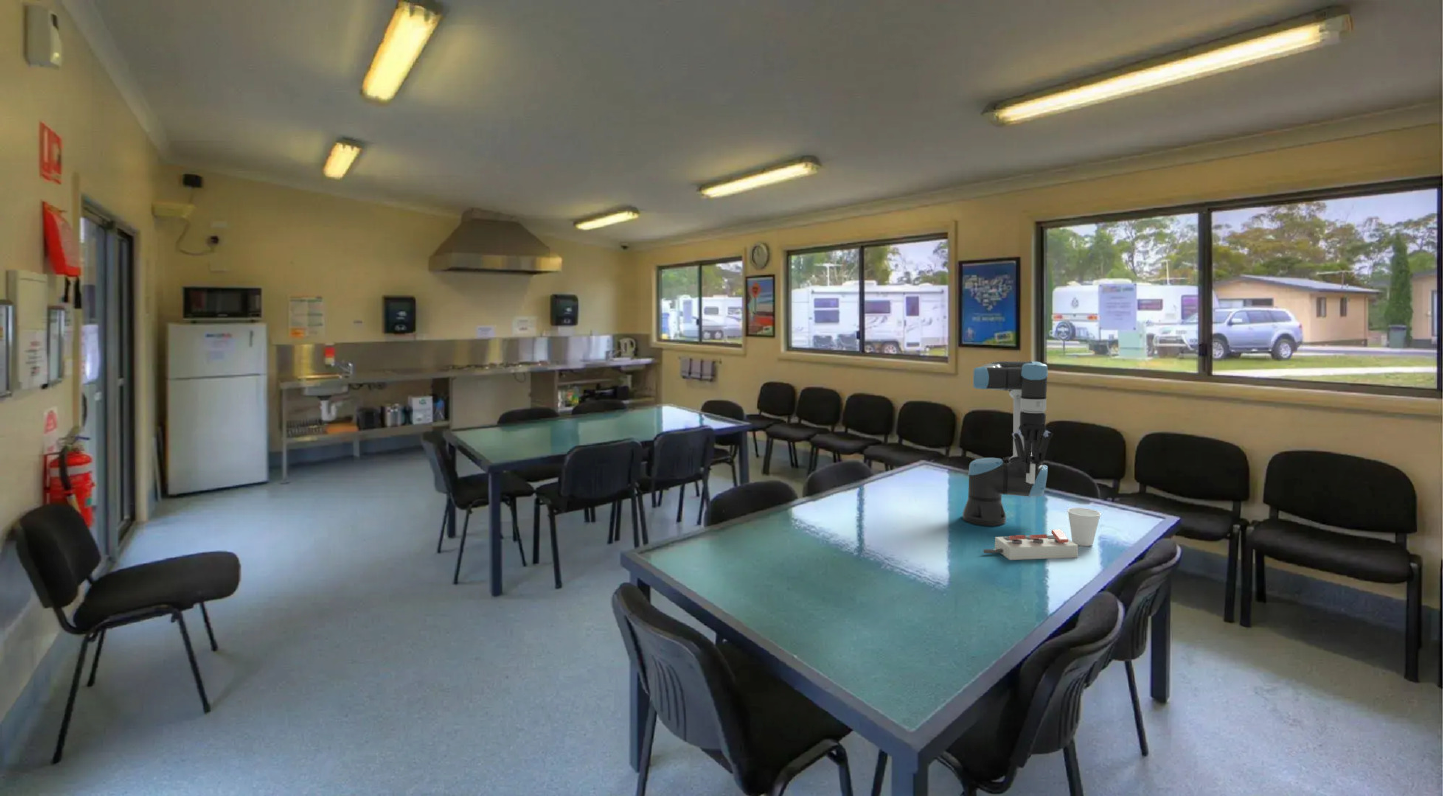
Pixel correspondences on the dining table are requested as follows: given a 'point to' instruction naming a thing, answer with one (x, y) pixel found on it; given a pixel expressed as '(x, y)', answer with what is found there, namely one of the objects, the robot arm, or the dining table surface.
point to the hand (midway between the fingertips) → (1030, 482)
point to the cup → (1083, 525)
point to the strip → (1034, 548)
